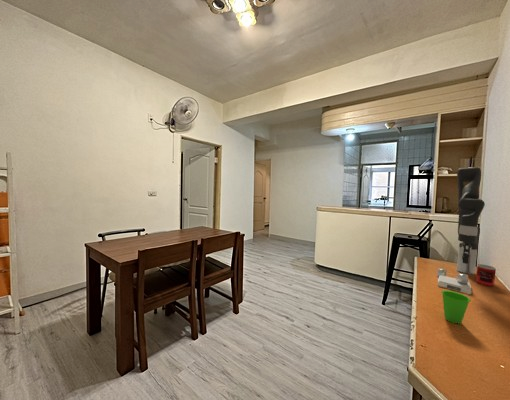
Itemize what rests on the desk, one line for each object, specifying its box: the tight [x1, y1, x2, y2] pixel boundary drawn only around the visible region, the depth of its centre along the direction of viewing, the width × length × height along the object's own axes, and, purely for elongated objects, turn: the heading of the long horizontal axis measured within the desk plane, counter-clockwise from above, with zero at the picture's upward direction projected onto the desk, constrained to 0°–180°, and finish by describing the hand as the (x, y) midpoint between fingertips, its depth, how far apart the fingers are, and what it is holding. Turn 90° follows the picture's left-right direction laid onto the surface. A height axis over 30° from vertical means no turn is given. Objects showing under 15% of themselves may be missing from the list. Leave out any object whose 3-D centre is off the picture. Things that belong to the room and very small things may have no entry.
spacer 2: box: [456, 272, 469, 285], centre depth 125 cm, size 4×4×5 cm
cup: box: [441, 289, 471, 325], centre depth 91 cm, size 9×9×11 cm
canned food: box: [475, 263, 497, 288], centre depth 133 cm, size 8×8×11 cm
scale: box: [437, 275, 472, 295], centre depth 127 cm, size 15×14×3 cm
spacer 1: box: [436, 267, 447, 278], centre depth 142 cm, size 4×4×5 cm
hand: (464, 261), depth 125 cm, fingers open, 8 cm apart
